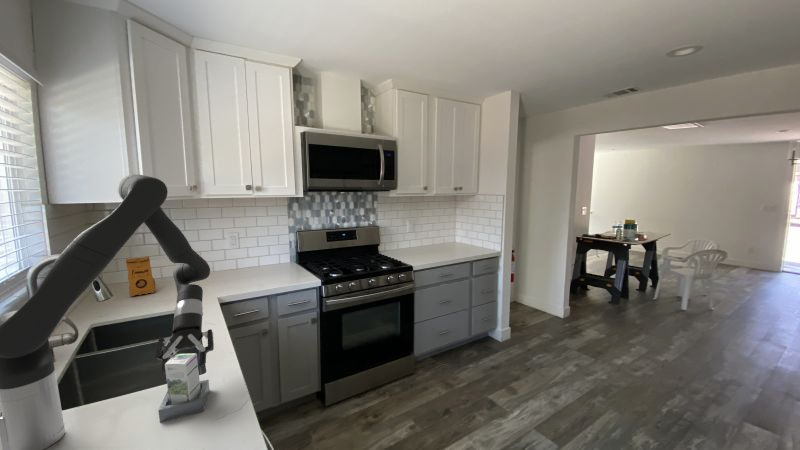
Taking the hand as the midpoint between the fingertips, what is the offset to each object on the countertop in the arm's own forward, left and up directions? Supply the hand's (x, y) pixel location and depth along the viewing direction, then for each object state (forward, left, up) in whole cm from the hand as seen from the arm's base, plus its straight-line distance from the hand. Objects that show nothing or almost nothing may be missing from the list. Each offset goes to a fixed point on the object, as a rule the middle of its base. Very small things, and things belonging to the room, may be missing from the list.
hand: (184, 369), depth 93 cm
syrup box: (0, -2, -10) cm, 10 cm away
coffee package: (-45, +123, -10) cm, 132 cm away
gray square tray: (0, -2, -10) cm, 10 cm away
